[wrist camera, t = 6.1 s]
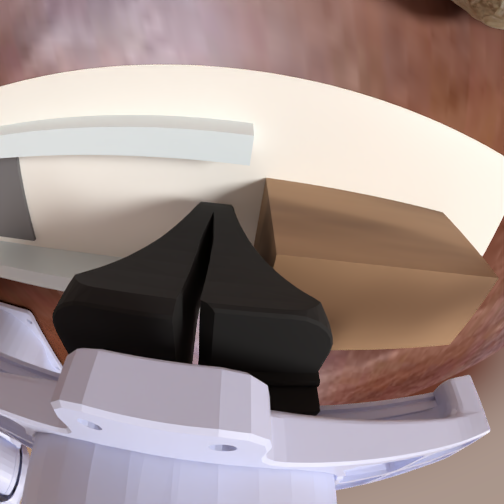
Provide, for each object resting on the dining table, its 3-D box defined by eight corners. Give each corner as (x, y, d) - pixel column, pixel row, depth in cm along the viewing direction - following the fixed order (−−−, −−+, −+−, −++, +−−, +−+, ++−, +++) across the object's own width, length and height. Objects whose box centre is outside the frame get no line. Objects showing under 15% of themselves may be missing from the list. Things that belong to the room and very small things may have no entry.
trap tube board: (436, 312, 18) (451, 341, 16) (-11, 263, 15) (-30, 288, 13) (514, 162, 11) (545, 184, 9) (-47, 103, 8) (-79, 118, 6)
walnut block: (412, 273, 15) (449, 344, 11) (251, 257, 14) (253, 347, 10) (442, 212, 12) (498, 278, 8) (265, 177, 11) (276, 254, 7)
